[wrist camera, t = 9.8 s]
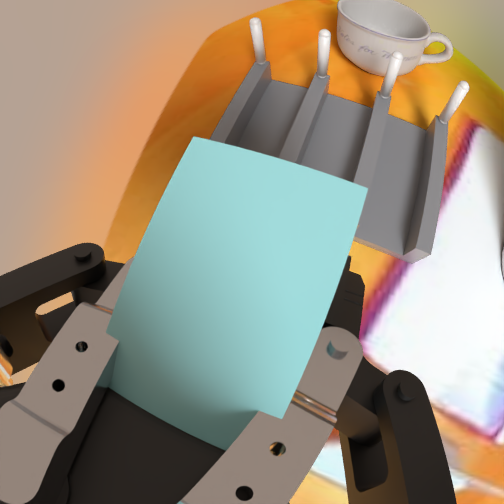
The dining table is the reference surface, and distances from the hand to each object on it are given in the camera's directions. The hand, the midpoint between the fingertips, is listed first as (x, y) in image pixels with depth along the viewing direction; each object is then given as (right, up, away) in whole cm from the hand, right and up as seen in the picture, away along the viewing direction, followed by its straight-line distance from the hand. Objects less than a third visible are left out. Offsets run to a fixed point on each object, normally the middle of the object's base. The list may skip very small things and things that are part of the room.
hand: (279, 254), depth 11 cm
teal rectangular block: (0, -3, +4) cm, 5 cm away
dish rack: (+7, +9, +16) cm, 19 cm away
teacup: (+16, +23, +18) cm, 34 cm away
